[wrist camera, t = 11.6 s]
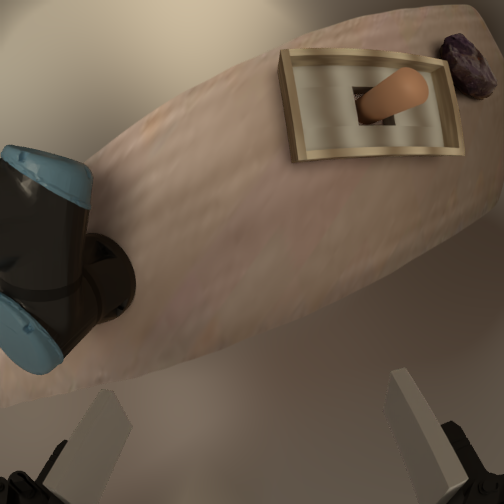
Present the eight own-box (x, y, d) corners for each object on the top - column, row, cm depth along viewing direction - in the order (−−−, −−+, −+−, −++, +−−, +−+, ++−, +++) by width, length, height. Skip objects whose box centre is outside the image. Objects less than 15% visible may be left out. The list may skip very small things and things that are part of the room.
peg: (354, 125, 37) (398, 103, 22) (349, 98, 36) (390, 65, 21) (380, 124, 37) (432, 106, 22) (375, 98, 36) (423, 69, 21)
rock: (448, 45, 32) (418, 60, 34) (468, 24, 24) (438, 36, 25) (486, 96, 33) (460, 116, 34) (512, 82, 24) (488, 101, 26)
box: (291, 162, 39) (298, 160, 31) (277, 71, 35) (280, 49, 28) (436, 156, 37) (465, 155, 29) (421, 74, 34) (447, 60, 26)
